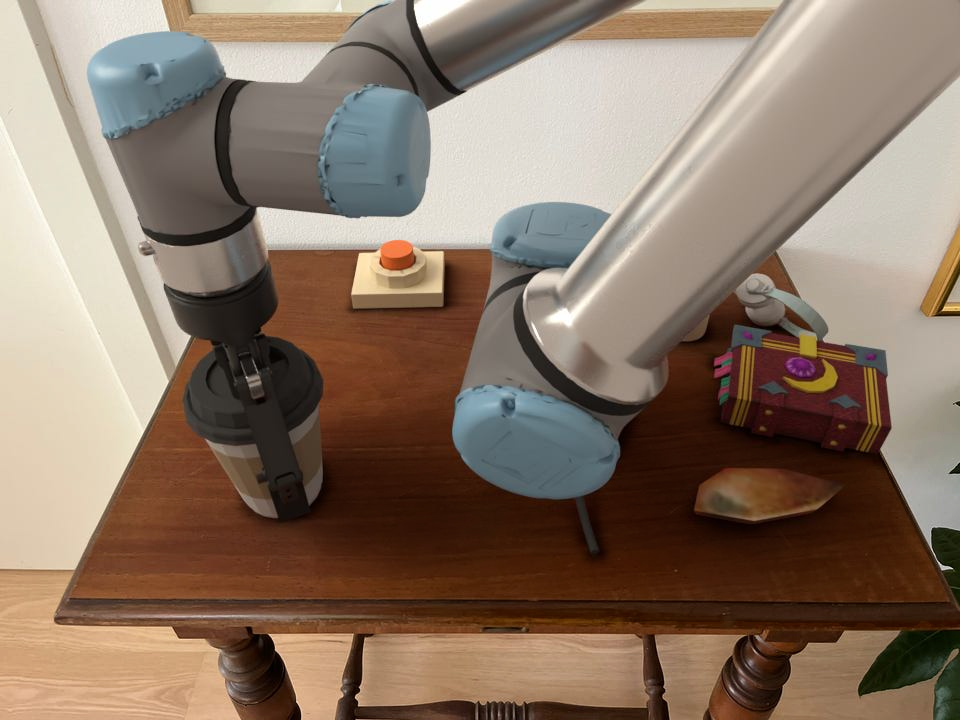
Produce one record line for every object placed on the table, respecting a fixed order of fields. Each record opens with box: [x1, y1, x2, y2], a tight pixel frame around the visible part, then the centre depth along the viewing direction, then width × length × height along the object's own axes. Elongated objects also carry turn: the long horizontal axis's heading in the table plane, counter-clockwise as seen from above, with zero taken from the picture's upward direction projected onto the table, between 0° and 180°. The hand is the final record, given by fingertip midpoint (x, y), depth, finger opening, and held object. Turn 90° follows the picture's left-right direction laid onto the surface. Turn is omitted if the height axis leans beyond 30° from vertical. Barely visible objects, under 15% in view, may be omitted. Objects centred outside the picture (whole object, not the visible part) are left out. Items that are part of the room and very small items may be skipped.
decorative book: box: [713, 324, 893, 455], centre depth 74 cm, size 11×16×5 cm
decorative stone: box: [693, 467, 846, 525], centre depth 65 cm, size 14×6×3 cm, turn 84°
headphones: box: [732, 273, 829, 342], centre depth 85 cm, size 8×4×20 cm
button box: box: [350, 246, 446, 310], centre depth 91 cm, size 11×9×4 cm
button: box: [379, 239, 414, 271], centre depth 89 cm, size 4×4×2 cm
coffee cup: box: [181, 335, 324, 519], centre depth 63 cm, size 11×11×15 cm
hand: (277, 466), depth 66 cm, fingers closed on coffee cup, 11 cm apart
